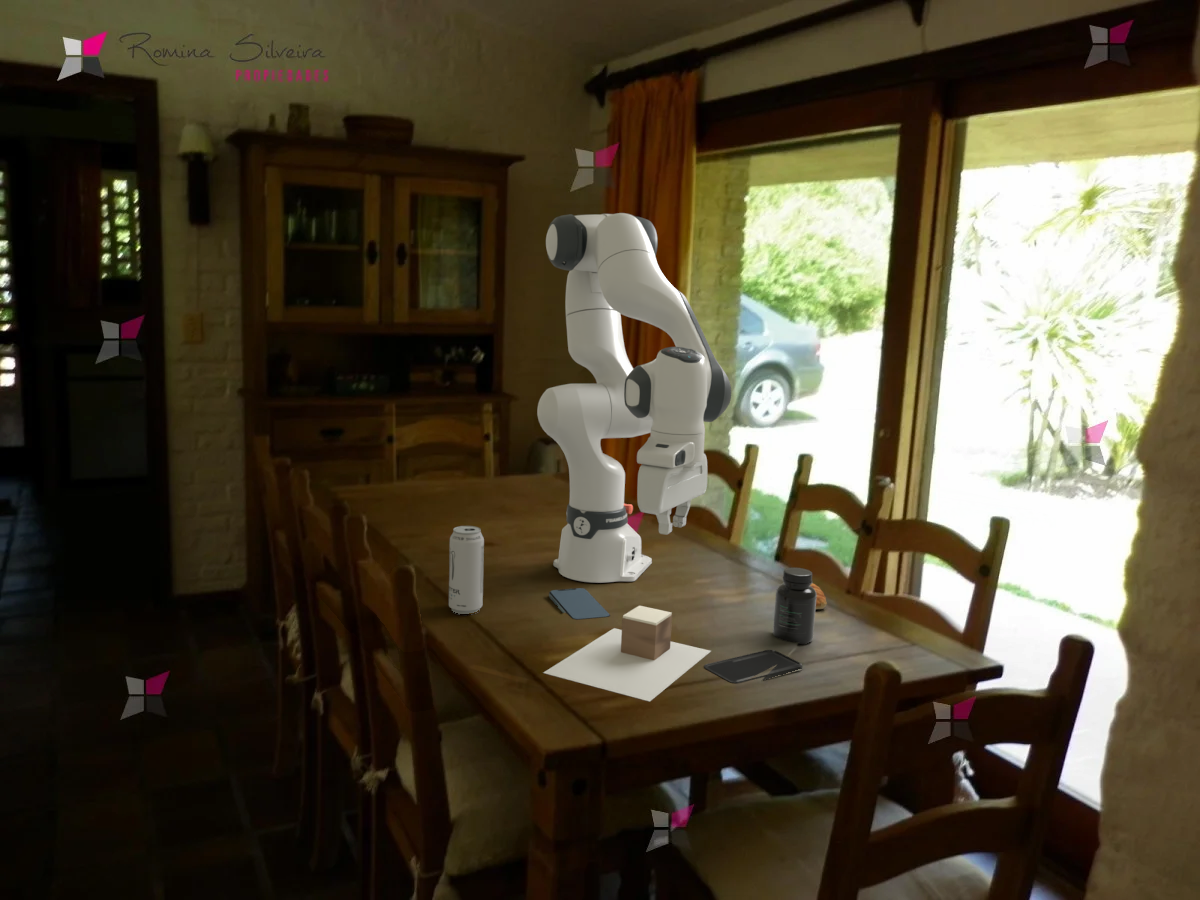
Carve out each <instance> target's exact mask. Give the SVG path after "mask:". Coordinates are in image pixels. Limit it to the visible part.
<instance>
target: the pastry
mask: <svg viewBox="0 0 1200 900" xmlns="http://www.w3.org/2000/svg"><path fill="white" fill-rule="evenodd" d="M810 586H811V587H813V588H814V589H815V591H816V594H817V596H816V609H815V610H823V609H825V608H826V606H827V605H828V603H827V597H826V596H825V594H824V591H822V589H821V588H820V586H818V585H816V584H815V583H813V582H812V584H811V585H810Z"/></svg>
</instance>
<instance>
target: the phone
mask: <svg viewBox="0 0 1200 900" xmlns="http://www.w3.org/2000/svg"><path fill="white" fill-rule="evenodd" d="M703 669H705V670H707V672H708V671H709V672H710V673H712V674H714V675H716V676H718V677H719V678H721V679H722V680H725V681H726V682H728V683H732V684H742V683H745V682H749V681H753V680H757V679H761V678H762V680H764V681H766V680H765V679H767V680H770V679H769V678H771V679H773V678H772V677H775V676H778V675H783V674H786V673H788V672H792V671H795V670H798V669H802V670H803V664H802V662H800V661H798V660H796V659H794V658H791V657H789V656H788V655H785V654H783V653H781V652H779V651H778V650H775V649H764V650H760V651H757V652H752V653H747V654H744V655H740V656H734V657H732V658H727V659H726V658H725V659H722V660H718V661H714V662H710V663H709V662H708V663H706V664H704V666H703ZM769 669H771V670H770V672H768V673H767V674H764V675H761V676H758V675H759V674H761V673H763V672H765V671H767V670H769ZM756 676H757V677H756ZM783 676H784V675H783ZM775 678H776V677H775Z"/></svg>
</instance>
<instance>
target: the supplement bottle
mask: <svg viewBox="0 0 1200 900" xmlns="http://www.w3.org/2000/svg"><path fill="white" fill-rule="evenodd" d="M812 583H813V572H812V571H810V569H805V568H803V567H802V568H801V567H788V568H785V569H783V575H782V583H781V584H779V585H778V586H777V588H776V589H775V590H776V591H775V600H774V601H775V602H774V612H773V614H774V615H773V624H772V626H773V627H772V628H773V629H772V634H773V636H774V637H775V638H777V639H779V640H781V641H784V642H790V643H797V644H804V645H808V644H810V643H811V642H812V641H813V639H814V631H815V618H816V610H817V609H816V596H817V594H816V591H815V589H814V588H813V587H811V586H810V585H811V584H812ZM809 642H810V643H809ZM807 643H808V644H807Z"/></svg>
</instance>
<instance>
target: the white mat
mask: <svg viewBox="0 0 1200 900" xmlns="http://www.w3.org/2000/svg"><path fill="white" fill-rule="evenodd" d="M621 636H622V629H619V628H615V627H614V628H612V629H611V630H609V631H607V632H606V633H604V634H602V635H601V636H599V637H597V638H596V639H595V640H592V642H589V643H588V644H587V645H585V646H583V647H582V648H579V649H578V650H577V651H575V652H574V653H572V654H570V655H569V656H568V657H565V658H564V659H563V660H561V661H560V662H557V663H556V664H555V665H553V666H552V667H550V668H549V669H547V670H545V671H544V672H542V673H543V674H546V675H549V676H553V677H555V678H560V679H563V680H568V681H570V682H571V681H572V682H575V683H580V684H582V685H586V686H591V687H593V688H597V689H602V690H605V691H609V692H612V693H616V694H619V695H623V696H627V697H630V698H631V697H632V698H634V699H639V700H642V701H646V702H651V701H653V700H654V699H655V698H657V696H659V695H660V694H661V693H662V692H664V691H665V689H667V688H669V687H670V686H671V685H672V684H673V683H674V682H676V681H677V680H678V679H679V678H680V677H682V676H683V675H684V674H685V673H687V671H689V670H690V669H691V668H693V667H694V666H695V665H696V664H698V662H700V661H701V660H703V658H705V657H706V656H707V655H708V654H710V653H711V652H712V650H710V649H705V648H701V647H700V648H699V647H696V646H691V645H689V644H684V643H680V642H674V641H671V642H670V649H669V650H668V651H666V652H665V653H664V654H662V655H661V656H660V657H658V658H657V659H656V660H650V659H646V658H642V657H638V656H634V655H630V654H626V653H622V652H621Z"/></svg>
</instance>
